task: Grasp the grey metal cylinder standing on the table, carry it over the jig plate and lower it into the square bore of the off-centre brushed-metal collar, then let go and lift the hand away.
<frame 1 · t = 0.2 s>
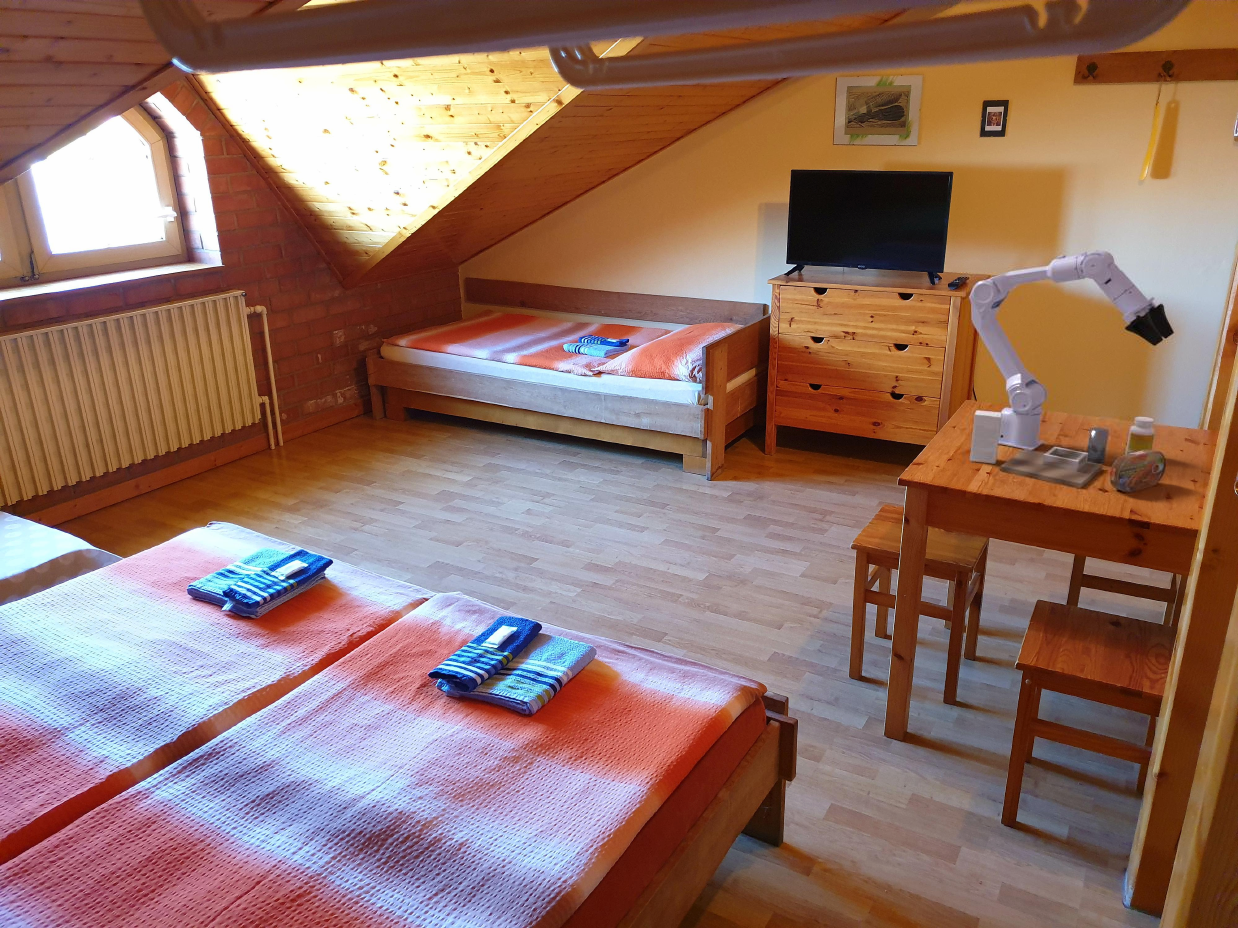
hand: (1164, 339, 207), 31 cm above the table, tool tilted 45°, fingers open, 7 cm apart
grey metal cylinder: (1094, 461, 222), on the table
jig: (1050, 470, 217), on the table
skincare box: (982, 460, 224), on the table
tin: (1134, 488, 206), on the table
supplement bottle: (1137, 457, 225), on the table
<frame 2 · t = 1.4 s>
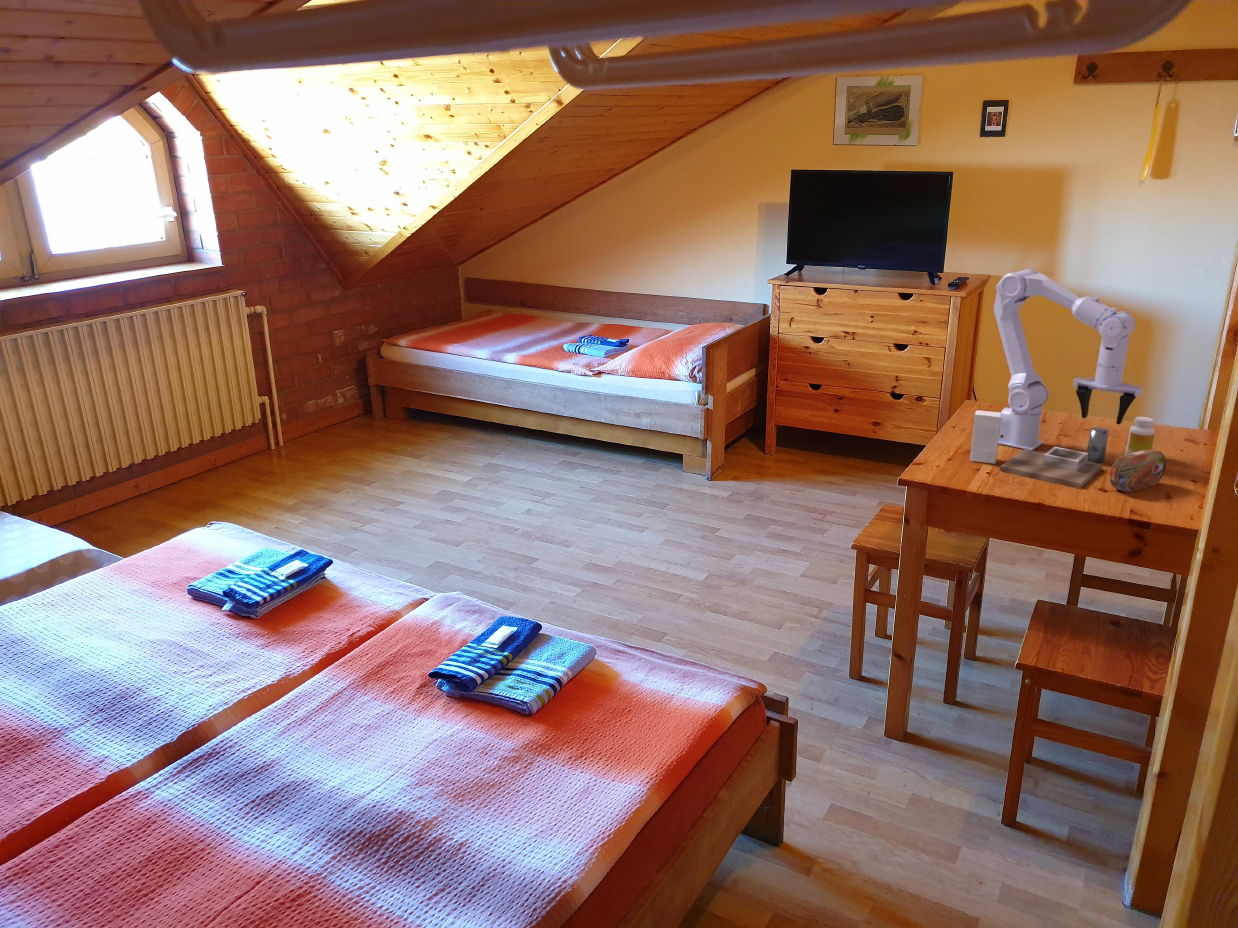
hand: (1101, 420, 218), 10 cm above the table, tool pointing down, fingers open, 7 cm apart
nothing on the table moved.
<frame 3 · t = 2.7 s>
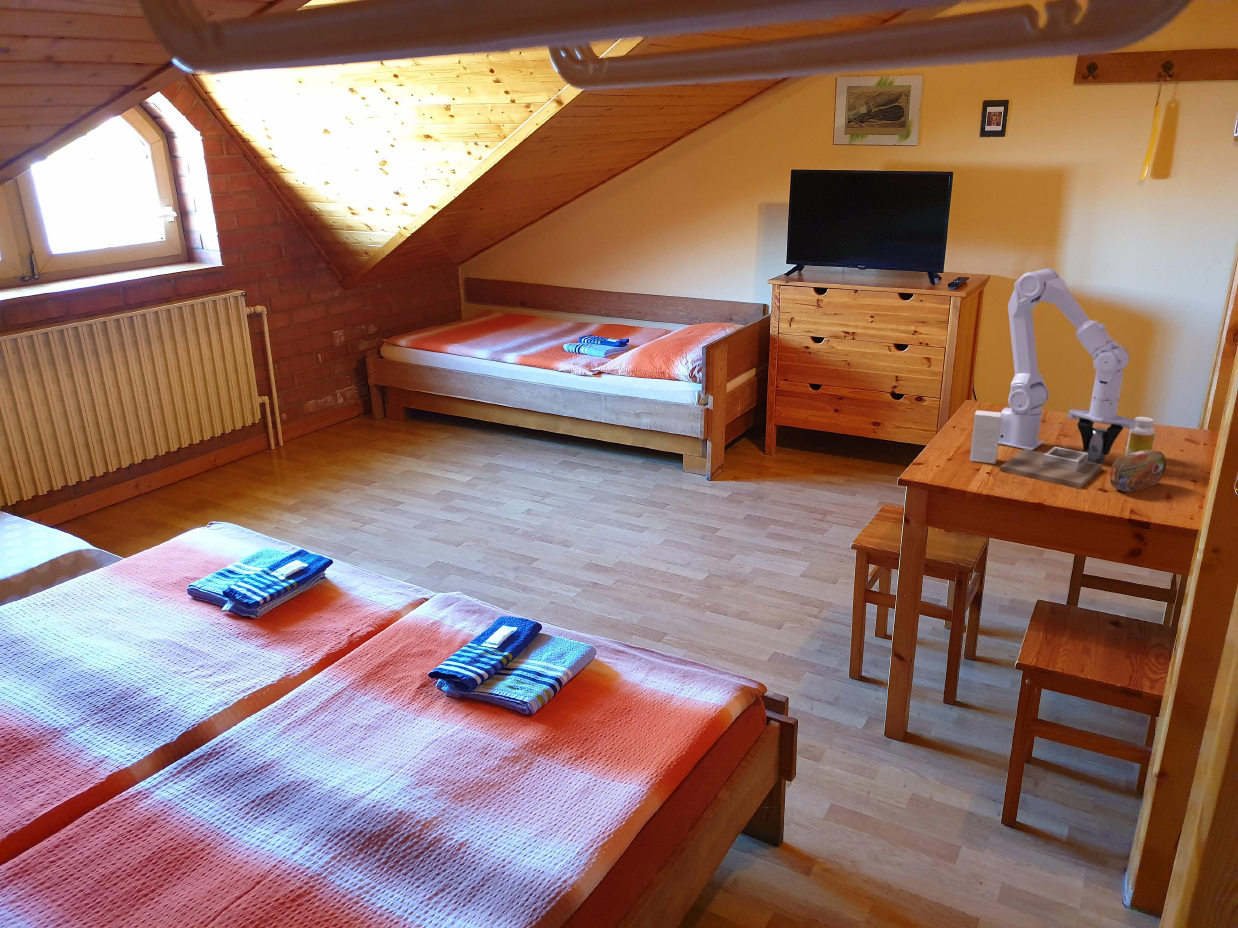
hand: (1096, 451, 221), 2 cm above the table, tool pointing down, fingers closed on grey metal cylinder, 4 cm apart
grey metal cylinder: (1094, 461, 222), on the table, touching gripper
everything else where it was.
when the fingers open (5 cm above the table, at t = 8.0 s): grey metal cylinder drops 1 cm, resting on jig.
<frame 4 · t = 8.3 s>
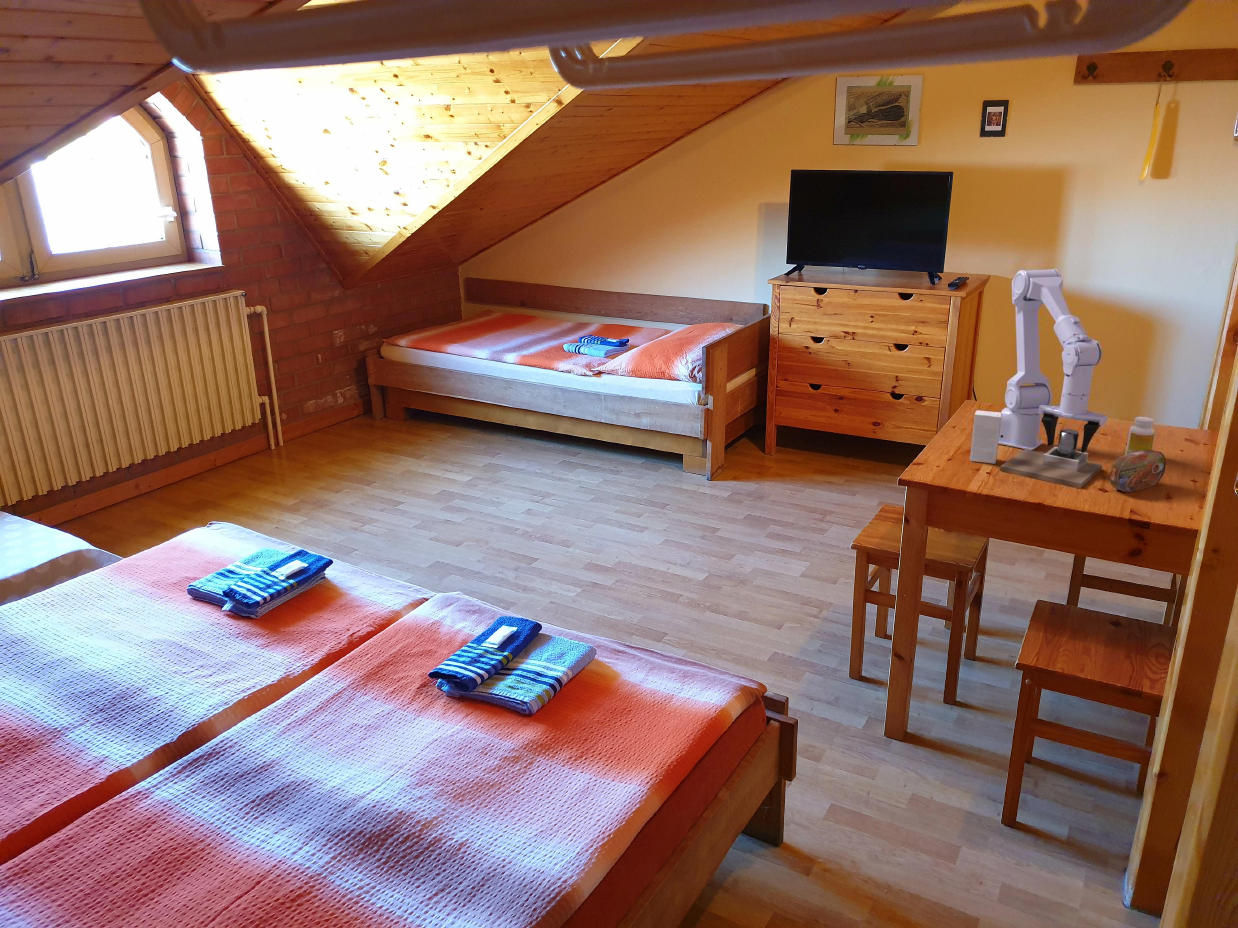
hand: (1066, 448, 216), 5 cm above the table, tool pointing down, fingers open, 7 cm apart
grey metal cylinder: (1064, 463, 217), point 1 cm above the table, touching jig
everything else where it was.
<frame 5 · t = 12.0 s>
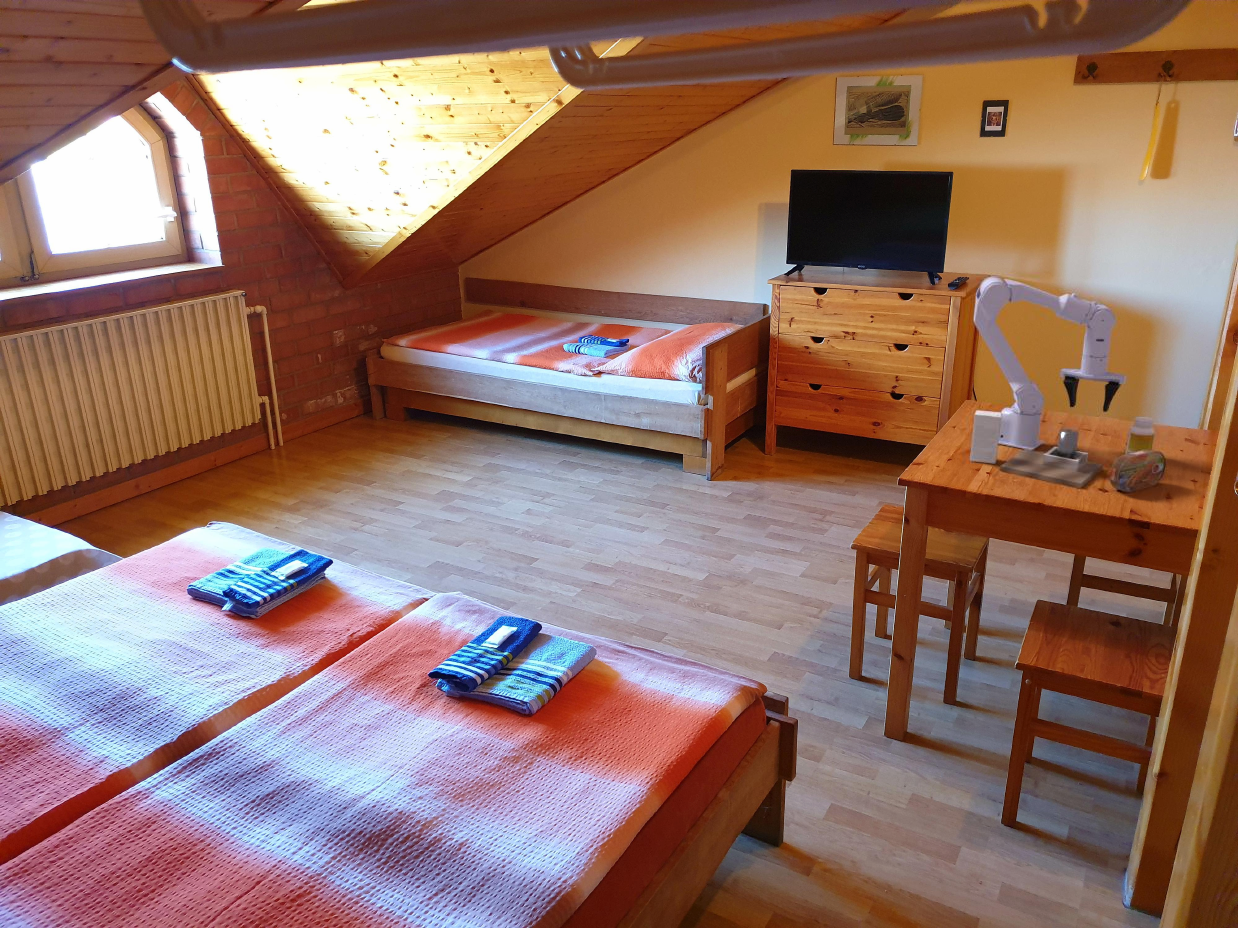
hand: (1088, 408, 228), 10 cm above the table, tool pointing down, fingers open, 7 cm apart
nothing on the table moved.
at the end: grey metal cylinder 0.0 cm from the target spot on the jig, point 1.2 cm above the jig's base; grey metal cylinder tilted 0°; the gripper is holding nothing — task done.
